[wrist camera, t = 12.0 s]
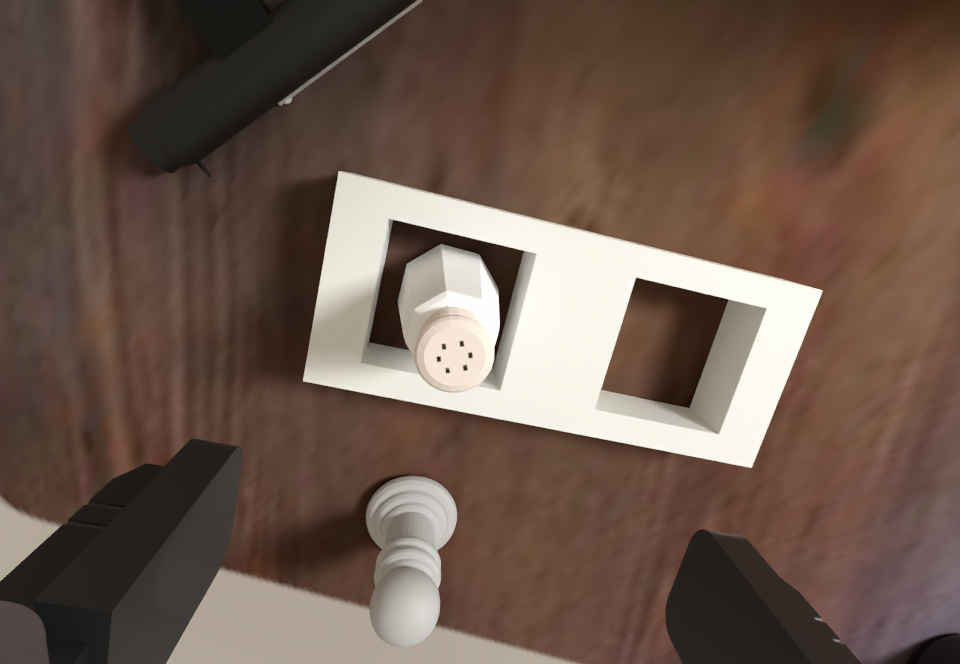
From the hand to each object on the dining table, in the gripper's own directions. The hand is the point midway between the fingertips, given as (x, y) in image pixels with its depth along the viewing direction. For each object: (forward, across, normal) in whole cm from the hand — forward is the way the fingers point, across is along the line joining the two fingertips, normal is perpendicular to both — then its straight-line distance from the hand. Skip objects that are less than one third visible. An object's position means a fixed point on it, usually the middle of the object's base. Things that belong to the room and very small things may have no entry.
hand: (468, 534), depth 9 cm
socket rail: (+21, -6, 0) cm, 21 cm away
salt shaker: (+21, 0, 0) cm, 21 cm away
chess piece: (+21, -1, +13) cm, 25 cm away
